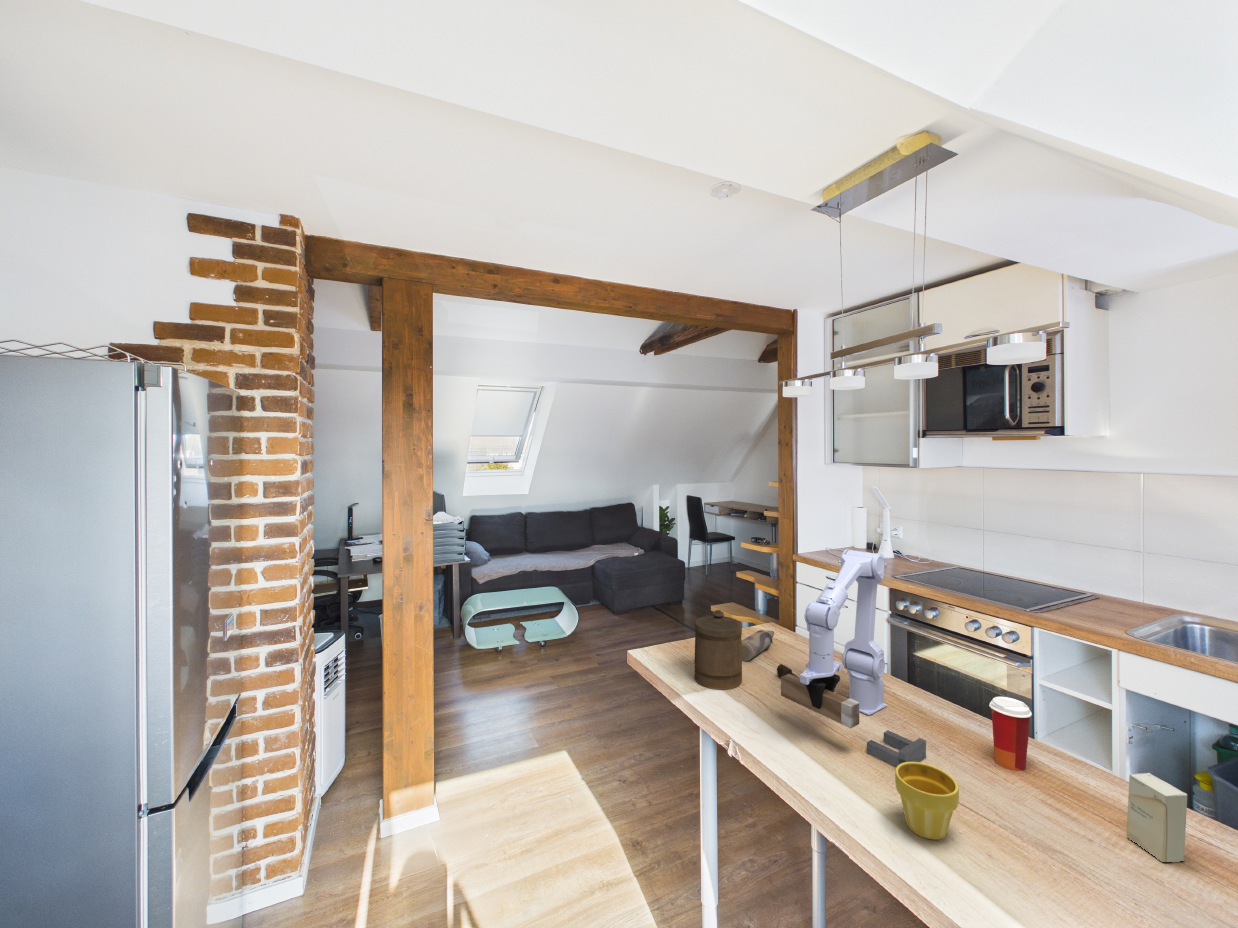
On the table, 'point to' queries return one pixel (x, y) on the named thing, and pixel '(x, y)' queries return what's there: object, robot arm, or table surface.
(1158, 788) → the skincare box
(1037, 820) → the table surface
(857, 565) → the robot arm
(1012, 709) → the paper cup
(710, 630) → the wooden container
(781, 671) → the hand tool
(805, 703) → the walnut rail
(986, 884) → the table surface
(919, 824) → the plant pot
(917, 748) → the u-shaped metal bracket
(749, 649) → the decorative bottle
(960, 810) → the table surface
